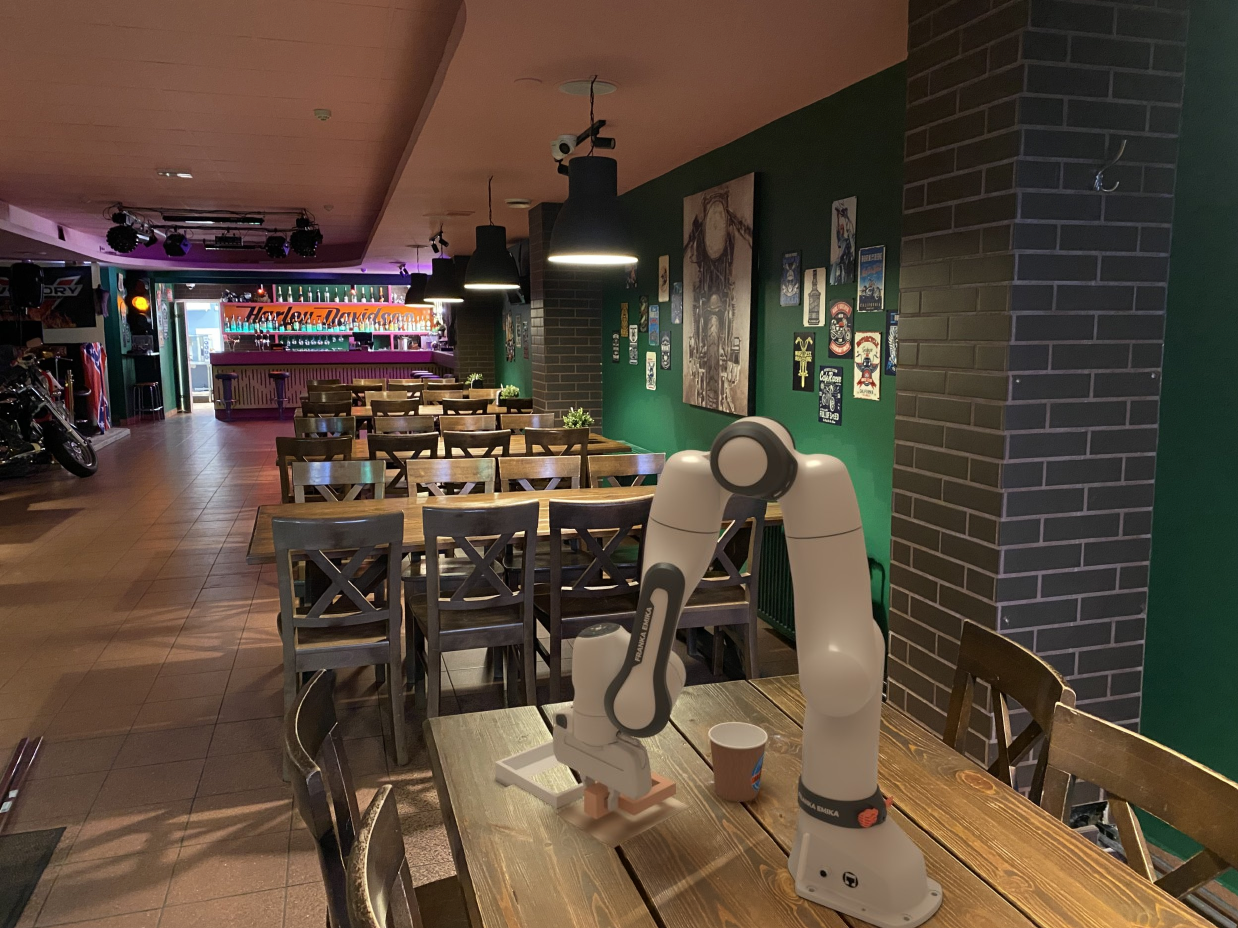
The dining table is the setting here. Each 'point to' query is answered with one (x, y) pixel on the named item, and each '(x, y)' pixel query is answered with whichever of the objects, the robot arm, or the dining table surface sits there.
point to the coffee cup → (737, 759)
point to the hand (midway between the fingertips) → (601, 803)
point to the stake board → (621, 820)
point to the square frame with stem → (599, 791)
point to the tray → (532, 764)
